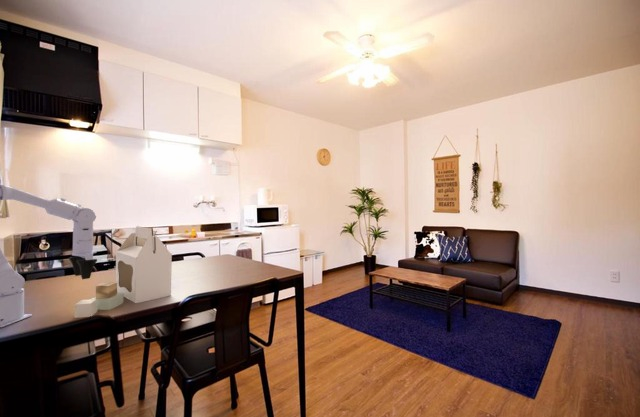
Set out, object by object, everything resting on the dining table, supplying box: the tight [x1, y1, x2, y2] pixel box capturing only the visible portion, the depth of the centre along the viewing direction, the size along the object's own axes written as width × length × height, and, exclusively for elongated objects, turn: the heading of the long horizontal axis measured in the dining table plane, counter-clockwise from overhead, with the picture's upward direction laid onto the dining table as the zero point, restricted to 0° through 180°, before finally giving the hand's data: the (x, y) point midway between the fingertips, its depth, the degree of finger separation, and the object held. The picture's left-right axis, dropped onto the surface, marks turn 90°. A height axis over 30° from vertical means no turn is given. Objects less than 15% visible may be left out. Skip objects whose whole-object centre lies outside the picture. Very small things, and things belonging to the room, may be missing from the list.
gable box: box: [115, 225, 173, 304], centre depth 119 cm, size 22×13×28 cm, turn 52°
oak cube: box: [95, 281, 117, 298], centre depth 104 cm, size 4×4×4 cm
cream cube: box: [74, 298, 98, 319], centre depth 96 cm, size 4×4×4 cm
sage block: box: [91, 293, 124, 311], centre depth 104 cm, size 7×7×4 cm
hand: (82, 277), depth 105 cm, fingers open, 7 cm apart
